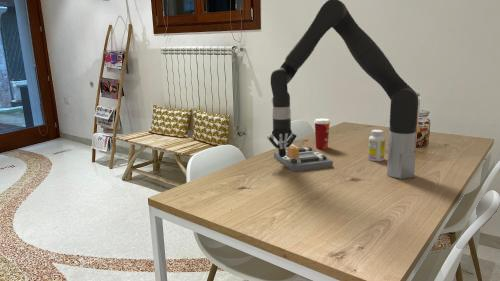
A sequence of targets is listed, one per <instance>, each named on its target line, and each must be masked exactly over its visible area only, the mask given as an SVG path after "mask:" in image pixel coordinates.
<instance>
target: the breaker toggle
mask: <svg viewBox="0 0 500 281" xmlns="http://www.w3.org/2000/svg"><path fill="white" fill-rule="evenodd" d="M299 148H300V147H298V146H296V145H294V143H292V144H291V145H290V147H287V150H288V156H289V157H290V158H298V157H299Z"/></svg>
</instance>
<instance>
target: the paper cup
mask: <svg viewBox="0 0 500 281" xmlns="http://www.w3.org/2000/svg"><path fill="white" fill-rule="evenodd" d="M313 123H314V131H315V134H314V135H315V148H316V149H318V150H326V149H328V145H329V135H330V124H331V120H330V119H328V118H325V117H324V118H321V117H320V118H315V119H314V122H313Z"/></svg>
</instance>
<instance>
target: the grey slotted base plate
mask: <svg viewBox="0 0 500 281" xmlns="http://www.w3.org/2000/svg"><path fill="white" fill-rule="evenodd" d="M298 148H299V153H300V152H308V151H312V149H313V148H312V147H310V146H308V147H307V146H306V147H298ZM286 154H288V149H286ZM326 157H327V156H326V155H324V154H322V155H320V156H312V157H304V158H295V159H291V162H292V163H293V164H294V163H302V162H310V161H318V160H326Z"/></svg>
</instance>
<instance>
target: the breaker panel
mask: <svg viewBox="0 0 500 281" xmlns="http://www.w3.org/2000/svg"><path fill="white" fill-rule="evenodd" d="M320 155H323V154H322V153H320V152H319V151H317V150H315V149H313V148H312V151H308V152H300V153H299V157H298V158H304V157H312V156H320ZM273 157H274V159H276V160H277V161H278V162H280V163H281V164H282V165H283V166H284V167H286V168H287V169H288V170H289V171H291V172H292V173H296V172H303V171H308V170H309V171H310V170H318V169H325V168H332V167H333V164H334V163H333V162H334V160H332V159H331V158H329V157H327V156H326V160H318V161H310V162H302V163H294V164H293V163H292V162H291V159H295V158H290V157H289V156H288V154H286V155H285V157H280V156H279V154H278V151H273Z"/></svg>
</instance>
